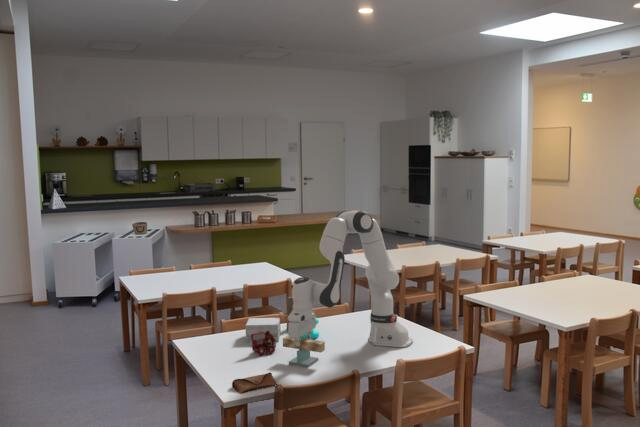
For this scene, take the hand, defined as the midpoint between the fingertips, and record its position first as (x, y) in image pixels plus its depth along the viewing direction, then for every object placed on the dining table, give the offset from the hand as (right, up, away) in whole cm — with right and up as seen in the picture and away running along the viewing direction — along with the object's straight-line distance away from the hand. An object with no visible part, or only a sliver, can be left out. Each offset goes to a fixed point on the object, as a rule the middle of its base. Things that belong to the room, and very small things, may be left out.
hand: (303, 342), depth 264 cm
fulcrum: (0, -9, +1) cm, 9 cm away
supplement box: (-22, -6, +38) cm, 44 cm away
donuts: (+2, -6, +38) cm, 38 cm away
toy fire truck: (-20, -9, +15) cm, 26 cm away
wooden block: (-5, -4, +53) cm, 53 cm away
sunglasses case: (-19, -13, -25) cm, 34 cm away
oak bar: (0, -3, 0) cm, 3 cm away
